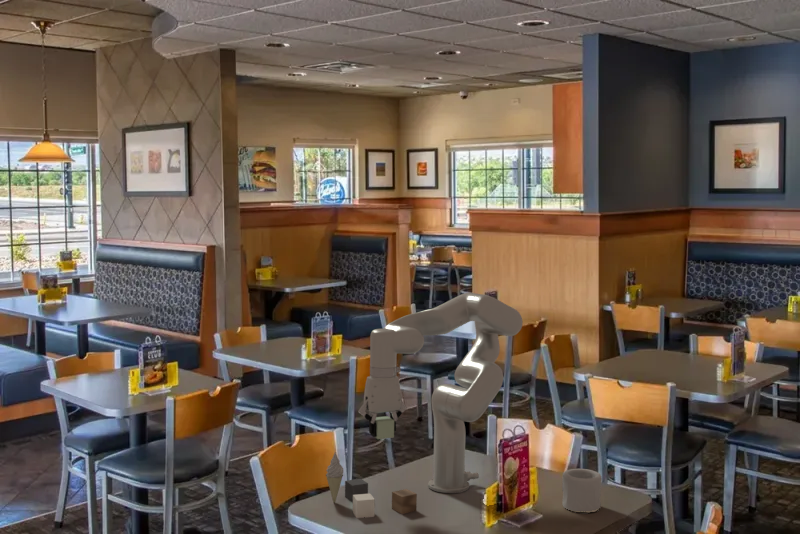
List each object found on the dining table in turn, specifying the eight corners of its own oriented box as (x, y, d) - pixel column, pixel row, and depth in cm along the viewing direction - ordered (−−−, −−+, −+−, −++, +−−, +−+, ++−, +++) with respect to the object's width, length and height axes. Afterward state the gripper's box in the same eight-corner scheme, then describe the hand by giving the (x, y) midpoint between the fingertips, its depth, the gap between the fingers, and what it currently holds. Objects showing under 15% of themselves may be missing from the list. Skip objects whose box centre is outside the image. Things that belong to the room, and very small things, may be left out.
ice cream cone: (340, 506, 254) (340, 454, 253) (323, 504, 255) (323, 453, 254) (345, 500, 259) (345, 449, 258) (328, 499, 260) (328, 448, 259)
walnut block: (406, 505, 255) (406, 488, 255) (416, 511, 251) (416, 493, 251) (391, 509, 252) (392, 491, 252) (401, 514, 248) (402, 496, 248)
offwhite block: (370, 510, 251) (370, 493, 250) (374, 516, 246) (374, 499, 246) (352, 512, 249) (352, 494, 249) (356, 518, 245) (356, 500, 244)
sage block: (386, 433, 258) (387, 416, 258) (393, 437, 254) (394, 420, 253) (371, 434, 256) (371, 417, 256) (377, 439, 252) (378, 421, 251)
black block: (360, 495, 264) (360, 478, 264) (367, 500, 260) (368, 483, 259) (344, 497, 262) (345, 480, 261) (352, 502, 257) (352, 485, 257)
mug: (608, 510, 254) (609, 475, 253) (580, 516, 248) (581, 481, 248) (576, 496, 266) (577, 463, 265) (548, 502, 260) (549, 468, 259)
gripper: (404, 368, 261) (403, 429, 262) (350, 371, 253) (349, 434, 255) (415, 372, 254) (414, 435, 255) (360, 376, 247) (359, 441, 248)
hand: (382, 434), depth 255 cm, fingers closed on sage block, 5 cm apart
